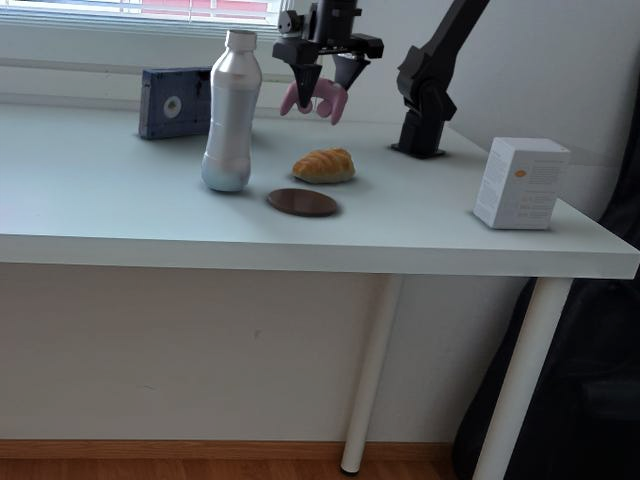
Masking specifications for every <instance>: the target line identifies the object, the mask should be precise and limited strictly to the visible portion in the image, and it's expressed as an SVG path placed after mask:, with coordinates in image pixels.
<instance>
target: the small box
mask: <svg viewBox="0 0 640 480" xmlns="http://www.w3.org/2000/svg"><path fill="white" fill-rule="evenodd" d="M490 147H491V148H490V151H489V155H488V159H487V162H486V166H485V169H484V173H483V177H482V180H481V183H480V187H479V191H478V195H477V199H476V202H475V204H474V205H475V206H474V209H473V215H474V216H476V217H477V218H479V220H481V221H482V222H483V223H485V224H486V225H487V226H488V227H490V228H491V229H492V230H493V229H494V230H495V229H496V230H547V229H548V228H549V224H550V221H551V218H552V215H553V213H554V209H555V206H556V203H557V200H558V196H559V194H560V191H561V188H562V185H563V182H564V178H565V175H566V173H567V169H568V166H569V164H570V161H571V157H572V154H573V152H572V150H570V149H568V148H566V147H564V146H563V145H561V144H559V143H558V142H555V141H554V140H552V139H550V138H535V137H534V138H533V137H508V136H507V137H504V136H503V137H502V136H495V137H493V141H492V144H491V146H490Z"/></svg>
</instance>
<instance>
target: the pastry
mask: <svg viewBox="0 0 640 480" xmlns="http://www.w3.org/2000/svg"><path fill="white" fill-rule="evenodd" d="M355 175H356V168H355V163H354V161H353V159H352V155H351V153H350V152H349V151H348V150H346V149H344V148H342V147H336V148H334V147H329V149H320V150H313V151H310V152H309V153H308V154H307V155H305V156H304V157H302V158H299V160H297V161H296V162H295V163H294V164H293V165H292V171H291V176H292V177H293V176H294V177H295V178H298V179H301V180H303V181H306V182H308V183H311V184H314V185H318V184H328V183H329V184H330V183H332V184H333V183H340V182H341V181H342V182H347V181H349V180H351V178H352V177H354V176H355Z"/></svg>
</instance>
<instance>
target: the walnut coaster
mask: <svg viewBox="0 0 640 480" xmlns="http://www.w3.org/2000/svg"><path fill="white" fill-rule="evenodd" d="M267 202H268V204H269V205H271V207H273V208H274V209H276V210H278V211H281V212H283V213H286V214H290V215H294V216H298V217H299V216H300V217H306V218H321V217H328V216H331V215H333V214H334V213H335V212H336V211H337V208H338V202H337V201H336V200H335V199H334V198H333V197H331V196H329V195H327V194H325V193H322V192H319V191H315V190H311V189H307V188H306V189H305V188H296V187H295V188H294V187H293V188H291V187H288V188H286V187H285V188H278V189H275V190H272V191H271V192H270V193H268V197H267Z"/></svg>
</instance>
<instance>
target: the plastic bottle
mask: <svg viewBox="0 0 640 480" xmlns="http://www.w3.org/2000/svg"><path fill="white" fill-rule="evenodd" d="M257 41H258V33H257V32H256V31H252V30H249V29H239V28H238V29H237V28H233V29H231V28H230V29H228V30H227V34H226V40H225V42H224V46H225V48H226V50H225V52H224V53H223V54H222V55H221V57H219V59H218V60H217V61H216V62H215V64H214V65H213V66H214V67H213V69H212V72H211V99H212V106H211V116H212V117H211V125H210V131H209V133H208V137H207V141H206V148H205V151H204V154H203V157H202V162H201V164H200V165H201V166H200V169H201V179H202V181H203V183H204V185H206V187H208V188H210V189H213V190H216V191H222V192H238V191H241V190H243V189H245V188H246V186H247V185H248V183H249V181H250V178H251V174H252V160H251V143H252V129H253V121H254V118H255V117H254V116H255V112H256V107H257V103H258V100H259V96H260V92H261V87H262V84H263V80H264V79H263V73H262V72H263V71H262V69H261V67H260V64H259V62H258V60H257V58H256V56H255V54H254V51H255V50H257V46H258V44H257Z"/></svg>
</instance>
